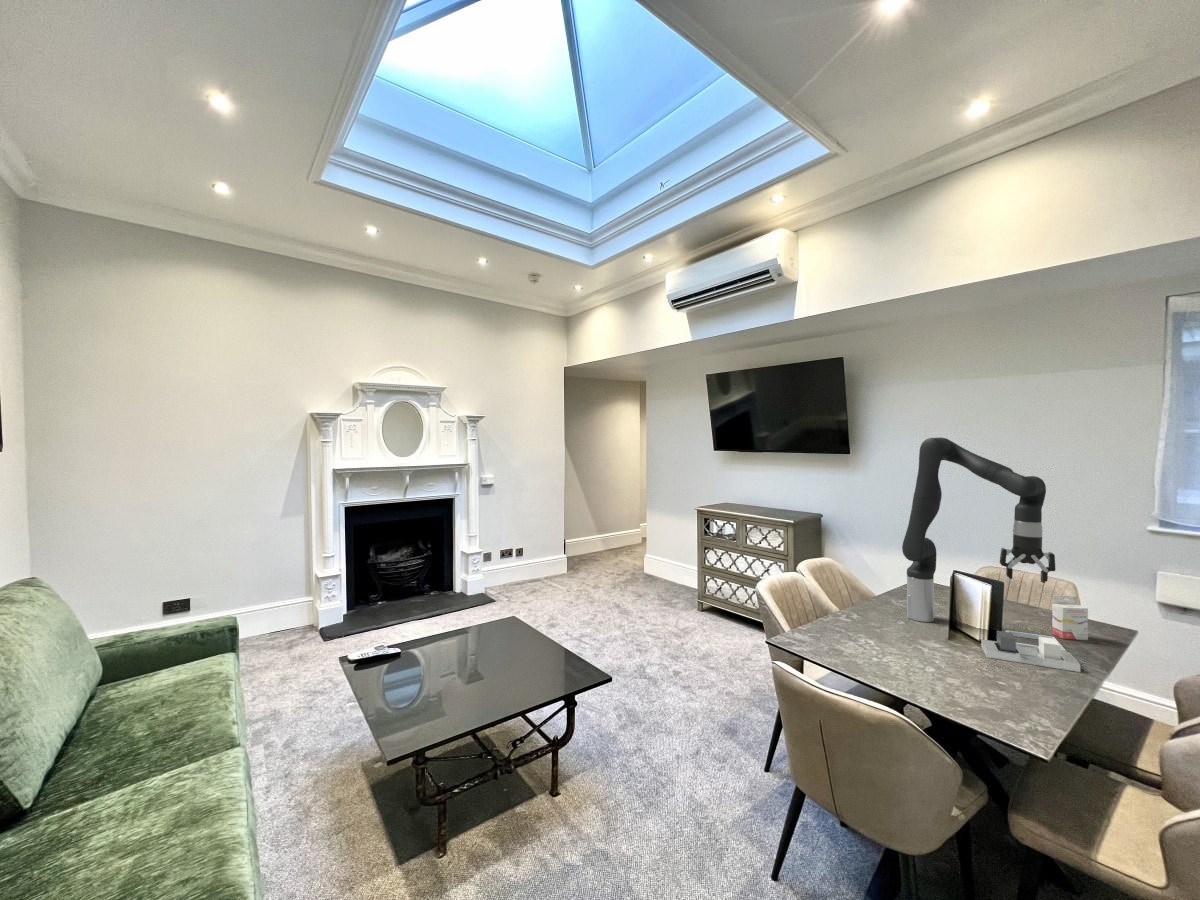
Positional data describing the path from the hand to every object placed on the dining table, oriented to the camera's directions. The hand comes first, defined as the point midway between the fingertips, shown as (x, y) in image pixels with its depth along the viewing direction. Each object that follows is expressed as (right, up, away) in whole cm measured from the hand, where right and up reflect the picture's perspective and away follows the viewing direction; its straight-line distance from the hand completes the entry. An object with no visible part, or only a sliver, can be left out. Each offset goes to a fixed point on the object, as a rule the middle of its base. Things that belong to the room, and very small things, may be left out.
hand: (1026, 580), depth 166 cm
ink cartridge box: (+25, -24, +10) cm, 37 cm away
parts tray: (+7, -24, +5) cm, 26 cm away
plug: (-1, -24, -9) cm, 26 cm away
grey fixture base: (-5, -24, -6) cm, 26 cm away
